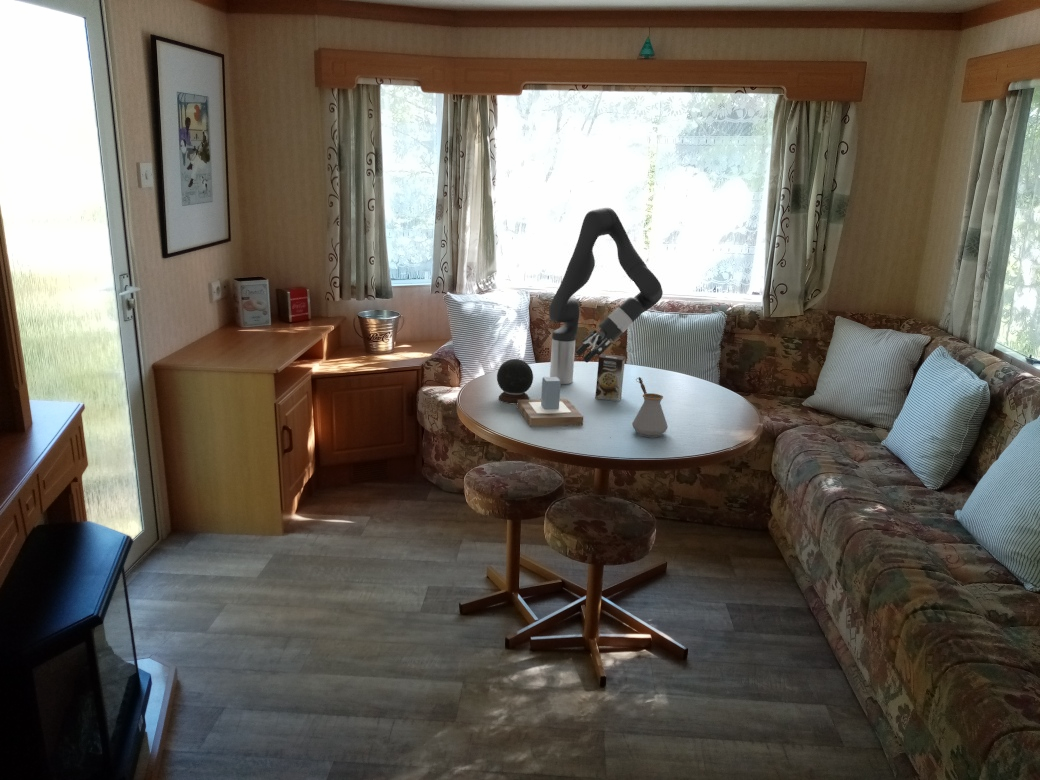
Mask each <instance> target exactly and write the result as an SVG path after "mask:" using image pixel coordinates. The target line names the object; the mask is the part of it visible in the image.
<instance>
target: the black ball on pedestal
mask: <svg viewBox="0 0 1040 780" xmlns="http://www.w3.org/2000/svg"><path fill="white" fill-rule="evenodd" d="M496 381H497V384H498V387H499V388H500V389H501V390H502V391H503V392H500V394H499V396H498V400H499V401H500V400H501V401H503V402H502V403H504V402H508V403H507V404H509V403H518V400H527V399H530V396H529V395H528V394H527V393H526V392H527V391H528V390H529V389H530V388H531V387H532V385H533V381H534V373H533V370H532V368H531V366H530V365H529V364H528V363H527V362H525V360H522V359H518V358H513V359H509V360H506V361H504V362H503V363H501V365H500V366H499V368H498V370H497V372H496ZM501 401H500V402H501Z"/></svg>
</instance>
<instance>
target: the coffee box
mask: <svg viewBox="0 0 1040 780" xmlns="http://www.w3.org/2000/svg"><path fill="white" fill-rule="evenodd" d="M597 363H598V364H597V374H596V376H597V377H596V386H595V396H594V397H595V398H594V399H597V400H604V401H605V400H606V401H613V402H619V401H620V400H621V399H622V392H623V383H624V373H625V372H624V371H625V364H626V356H624V355H623V356H622V355H616V354H607V353H602V354H601V355H599V356H598V362H597Z"/></svg>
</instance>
